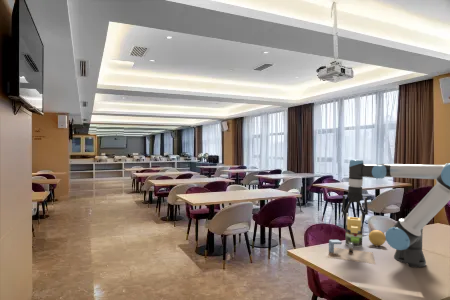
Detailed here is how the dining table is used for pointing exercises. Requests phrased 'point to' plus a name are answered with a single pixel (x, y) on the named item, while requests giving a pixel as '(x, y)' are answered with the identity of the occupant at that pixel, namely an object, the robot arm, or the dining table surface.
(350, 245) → the pintle
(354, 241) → the coffee can
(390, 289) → the dining table surface
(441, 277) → the dining table surface
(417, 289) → the dining table surface
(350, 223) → the link
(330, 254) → the board
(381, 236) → the stress ball
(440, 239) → the dining table surface
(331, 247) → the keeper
